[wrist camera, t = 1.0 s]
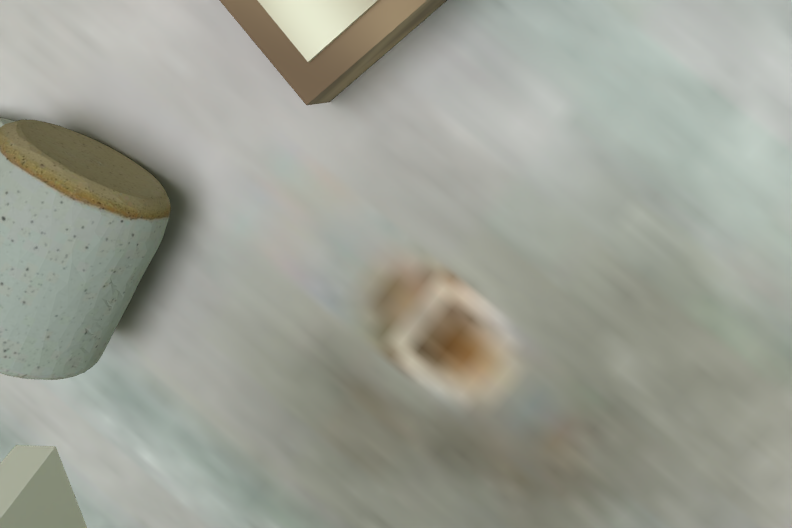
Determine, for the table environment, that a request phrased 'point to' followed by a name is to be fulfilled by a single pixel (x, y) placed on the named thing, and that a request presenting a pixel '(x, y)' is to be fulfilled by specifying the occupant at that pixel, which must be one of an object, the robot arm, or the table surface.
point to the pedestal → (327, 37)
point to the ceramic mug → (69, 246)
